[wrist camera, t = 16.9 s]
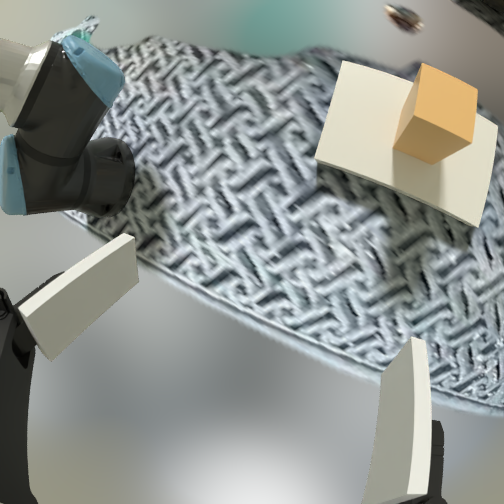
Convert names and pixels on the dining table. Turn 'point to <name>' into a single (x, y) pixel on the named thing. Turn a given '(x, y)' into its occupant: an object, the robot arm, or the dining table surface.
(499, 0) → the coal bowl
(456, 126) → the tan upright carton
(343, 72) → the plate
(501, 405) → the dining table surface
